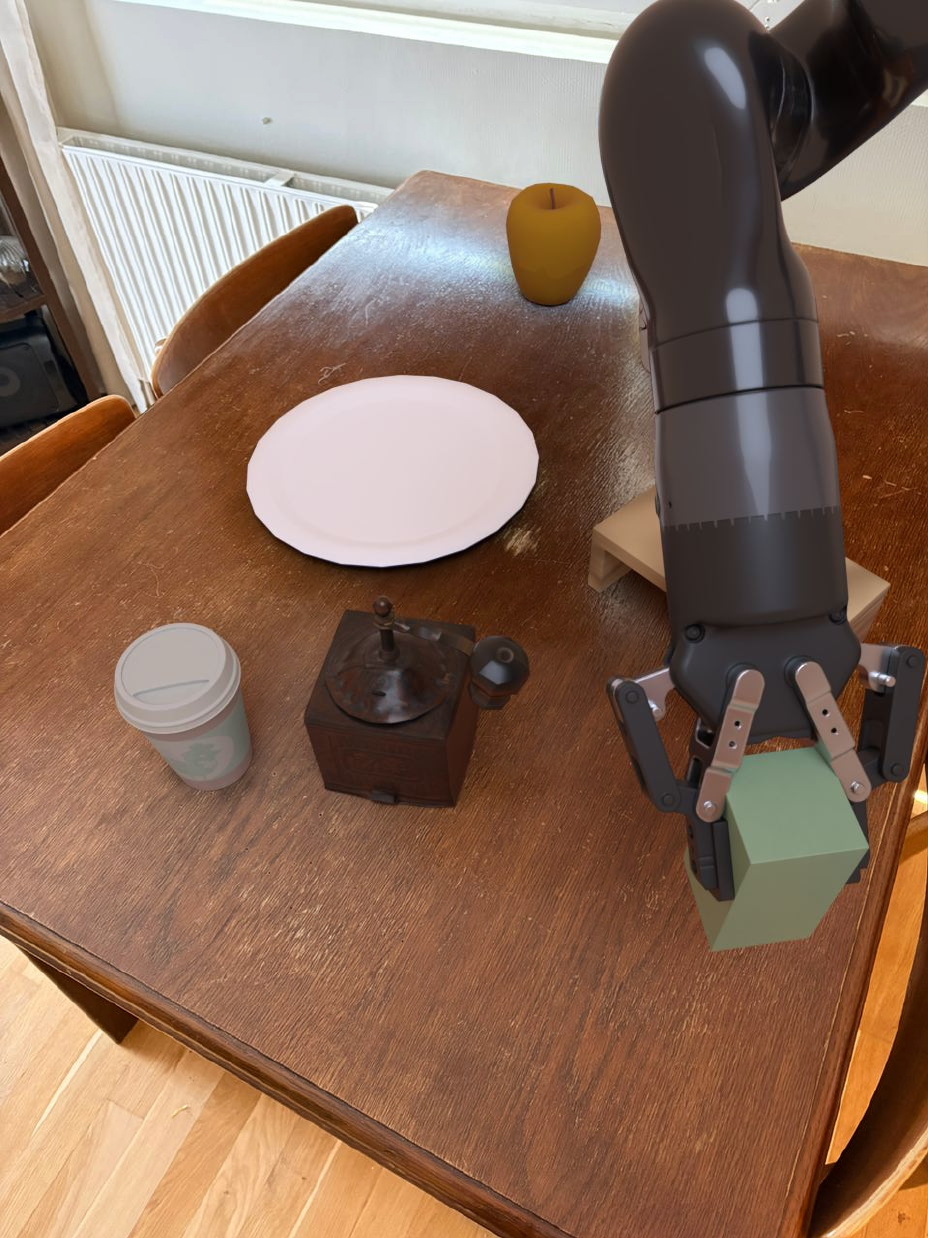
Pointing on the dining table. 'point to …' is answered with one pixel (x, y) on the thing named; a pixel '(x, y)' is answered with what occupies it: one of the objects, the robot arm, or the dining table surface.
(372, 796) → the coffee grinder
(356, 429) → the plate
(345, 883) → the dining table surface
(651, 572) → the shelf
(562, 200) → the apple
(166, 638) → the coffee cup
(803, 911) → the green carton
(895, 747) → the robot arm
